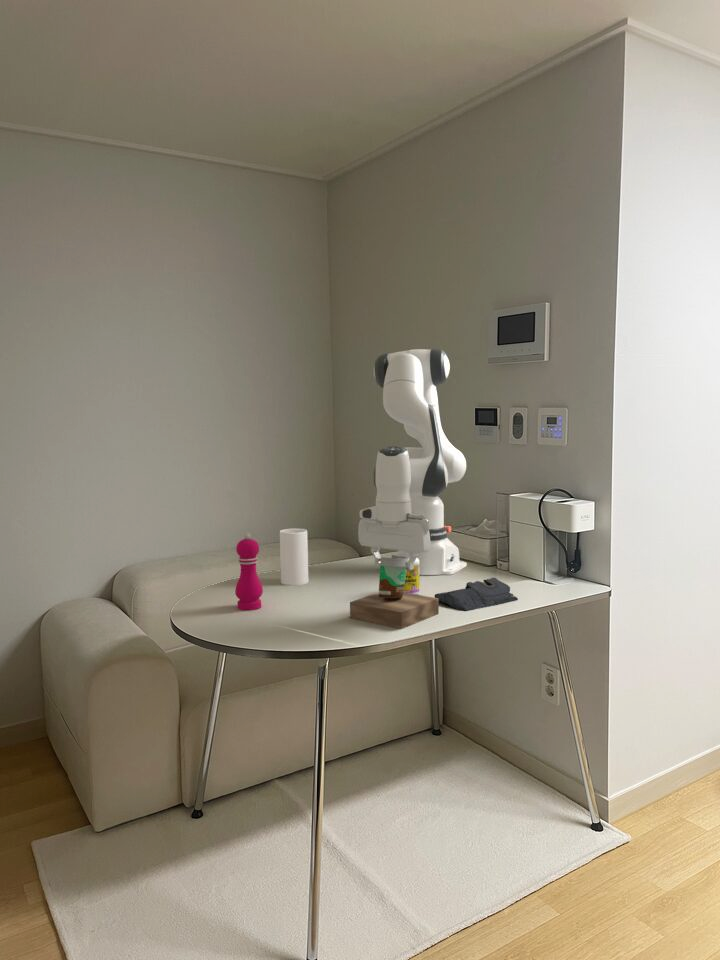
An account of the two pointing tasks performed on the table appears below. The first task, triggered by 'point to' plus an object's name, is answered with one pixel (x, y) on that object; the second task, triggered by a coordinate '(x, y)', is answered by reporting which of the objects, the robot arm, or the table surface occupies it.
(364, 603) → the walnut base
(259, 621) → the table surface
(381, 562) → the food container
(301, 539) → the cup
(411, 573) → the supplement bottle
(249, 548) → the pepper mill
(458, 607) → the folded dark cloth
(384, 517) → the robot arm
